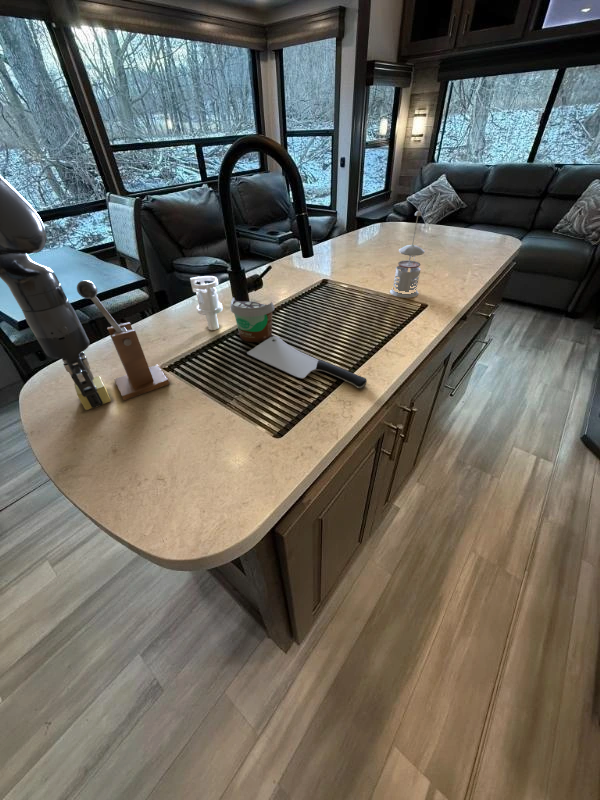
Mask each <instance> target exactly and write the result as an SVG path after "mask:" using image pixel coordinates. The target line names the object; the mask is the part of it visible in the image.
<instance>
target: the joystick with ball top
mask: <svg viewBox="0 0 600 800" xmlns="http://www.w3.org/2000/svg"><path fill="white" fill-rule="evenodd" d="M76 292H77V293H78V295H79V296H80V297H81V298H84V299H87V300H91V301H92V303H93V304H94V305H95V307H97V309H98V310H99V311H100V313H101V314H102V315H103V317H104V318H105V319H106V320H107V322H108V323H109V324H110V325H111V327H113V328H114V329H115V330H116V331H115V332H114V334H117V333H120V332H124V331H127V330H126V329H125V327H123V328H120V327H119V323H117V321H116V319H114V318H113V316H112V315H111V314H110V312H109V311H108V310H107V309H106V307H105V305H104V304H103V303H102V302H101V301H100V299H99V298H98V297H97V296H98V287H97V285H96V284H95V283H94V282H92V281H91V280H86V279H85V280H84V279H83V280H80V281H79V282H78V283H77V285H76Z"/></svg>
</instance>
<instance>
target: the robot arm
mask: <svg viewBox="0 0 600 800" xmlns="http://www.w3.org/2000/svg"><path fill="white" fill-rule="evenodd" d="M47 239H48V237H47V230H46V228H45V225H44V223H43V221H42V219H41V217H40V215H39V214H38V213H37V211H36V210H35V209H34V208H33V207H32V205H31V204H30V203H29V202H28V201H27V200H26V199H25V198H24V197H23V196H22V195H21V194H20V193H19V192H18V191H17V190H16V189H15V188H14V187H13V186H12V185H11V184H10V183H9V182H8V181H7V180H6V179H4V177H3V176H2V175H0V279H1V280H2V281H3V282H4V284H6V286H7V287H8V289H9V290H10V292H11V294H12V296H13V297H14V299H15V301H16V303H17V304H18V306H19V308H20V309H21V311H22V314H23V315H24V318H25V321H26V324H27V325H28V326H29V328H30V330H31V332H32V333H33V335H34V337H35V338H36V340H37V342H38V344H39V345H40V347H41V349H42V350H43V352H44V354H45V355H46V356H47V357H48V358H50V359H51V358H52V359H57V360H58V359H61V360H62V362H63V367H64V369H65V371H66V372H67V373H69V375H70V378H71V379H72V381H73V384H76V385H77V386H78V388H79V390H80V391H81V394H82V396H84V397H86V398H87V399H88V401H89V403H90V405H91V407H93V408H92V409H95V408H97V407H100V406H102V405H104V404H103V402H102V399H101V398H100V396H99V394H98V392H97V387H95V385H94V383H93V379H94V377H95V376H94V374H93V373H92V369H91V365H90V363H89V361H88V357H87V355H86V354H85V351H86V350H87V349H88V348H89V346H90V344H91V343H90V339H89V337H88V335H87V332H86V331H85V329H84V327H83V325H82V322H81V321H80V319H79V317H78V315H77V313H76V310H75V309H74V307H73V306H72V304H71V302H70V301H69V299H68V297H67V295H66V293H65V291H64V288H63V287H62V285H61V283H60V281H59V279H58V277H57V275H56V274H55V272H54V271H53V270H52V269H51V268H50V267H47V266H46V265H42V264H40V263H37V262H35V261H33V260H32V259H31V258H30V256H29V255H33V254H37V253H39V252H41V251H42V250H44V249H45V247H46V244H47Z"/></svg>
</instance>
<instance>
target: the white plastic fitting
mask: <svg viewBox="0 0 600 800" xmlns="http://www.w3.org/2000/svg"><path fill="white" fill-rule="evenodd" d="M189 280H190V281H189V282H190V284H191V290H192V292H193V293H195V294H196V298H197V303H198V305H196V310H197V311H196V312H197V313H198V314H199V315H201V316H205V319H206V323H207V328H208V330H210V331H216V330H218V329H219V328H220V326H219V325H220V324H219V320H218V315H217V314H219V313H222V312H223V310H224V308H223V304H222V302H220V300H219V295H218V289H217V288H216V287H218V285H219V279H218V277H217V276H213V275H204V276H199V275H198V276H195V277H190V278H189ZM208 281H209V282H210V283H208ZM205 282H207V283H205ZM198 283H199V284H198Z"/></svg>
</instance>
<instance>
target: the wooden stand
mask: <svg viewBox="0 0 600 800" xmlns="http://www.w3.org/2000/svg"><path fill="white" fill-rule="evenodd" d="M118 325H119V327H120V328H123V327H125V329H126V330H127V331H124V332H120V333H117V334H114V332H115V331H116V330H115V329H114V328H113V327H112V326H107V328H106V329H107V331H108V333H109V336H110V338H111V341H112V343H113V345H114V348H115V351H116V352H117V355H118V357H119V359H120V362H121V364H122V366H123V369H124V371H125V375H122V376H119V377H115V378H113V380H114V383H115V385H116V387H117V389H118V391H119V393H120V395H121V398H122V399H123V401H126V400H129V399H132V398H135V397H138V396H140V395H143V394H145V393H146V394H147V393H148V392H151V391H155V390H158V389H160V388H162V387H165V386H169V385H170V381H169V379H168V377H167V376H166V375H165V373H164V371H163V370H162V368H160V366H159V364H154V365H152V366H150V367H149V364H148V361H147V359H146V356H145V353H144V350H143V348H142V345H141V342H140V339H139V336H138V334H137V332H136V329H135V328H133V327H132V324H131V322H130V321H127V322H123V323H120V324H119V323H118Z"/></svg>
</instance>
